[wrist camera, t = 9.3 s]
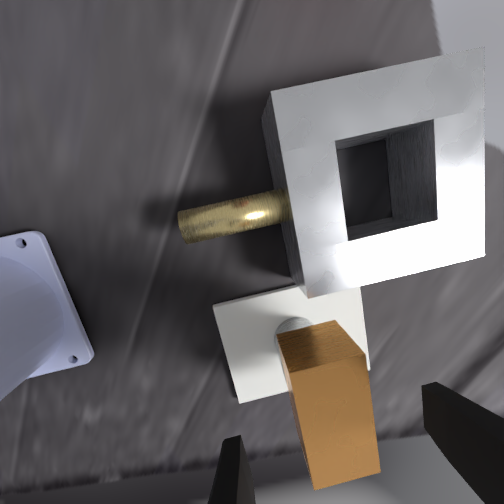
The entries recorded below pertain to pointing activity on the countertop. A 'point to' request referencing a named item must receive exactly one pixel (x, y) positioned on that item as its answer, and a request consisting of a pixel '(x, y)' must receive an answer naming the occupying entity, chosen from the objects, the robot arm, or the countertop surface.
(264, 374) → the mat
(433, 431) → the robot arm
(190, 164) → the countertop surface
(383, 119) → the hollow block with rod
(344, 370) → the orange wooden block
